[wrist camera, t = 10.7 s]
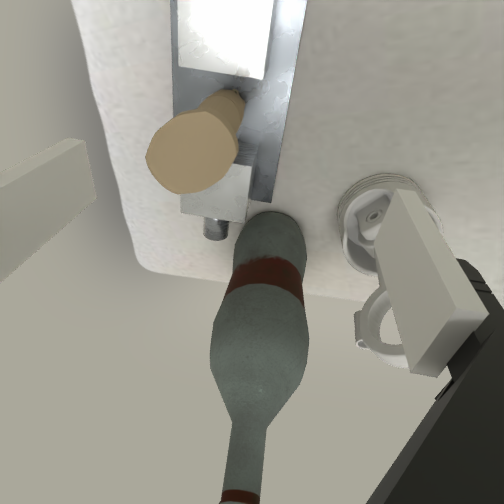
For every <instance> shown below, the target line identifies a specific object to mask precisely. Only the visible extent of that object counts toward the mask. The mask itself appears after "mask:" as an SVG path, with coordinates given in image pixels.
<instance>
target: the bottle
mask: <svg viewBox="0 0 504 504" xmlns="http://www.w3.org/2000/svg"><path fill="white" fill-rule="evenodd" d="M306 260H307V253H306V246H305V241H304V237H303V235H302V233H301V231H300V229H299V227H298V225H297V224H296V223H295V222H294V221H293V220H292V219H291V218H290V217H288V216H286V215H284V214H282V213H276V212H266V213H261V214H259V215H257V216H255V217H253V218H252V219H251V220H250V221H249V222H248V223H247V224H246V225H245V226H244V228H243V230H242V231H241V233H240V235H239V237H238V239H237V241H236V243H235V249H234V259H233V274H232V277H231V280H230V282H229V285H228V288H227V290H226V293H225V296H224V299H223V301H222V304H221V306H220V309H219V311H218V313H217V315H216V318H215V320H214V323H213V331H212V338H211V347H210V368H211V371H212V373H213V376H214V378H215V381H216V383H217V386H218V388H219V391H220V393H221V396H222V398H223V401H224V403H225V405H226V408H227V410H228V413H229V415H230V417H231V420H232V429H231V436H230V443H229V450H228V456H227V464H226V470H225V477H224V483H223V490H222V497H221V501H220V503H219V504H259V503H260V492H261V482H262V471H263V460H264V450H265V438H266V429H267V427H268V426H269V424H270V423H271V422H272V420H273V419H274V417H275V416H276V415H277V414H278V412H279V411H280V410H281V408H282V407H283V406H284V405H285V403H286V402H287V401H288V399H289V398H290V397H291V395H292V394H293V393H294V391H295V390H296V389H297V387H298V386H299V385H300V382H301V379H302V377H303V374H304V371H305V367H306V364H307V355H308V347H309V333H308V326H307V320H306V314H305V307H304V298H303V289H302V282H303V277H304V272H305V267H306Z"/></svg>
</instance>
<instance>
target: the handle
mask: <svg viewBox="0 0 504 504" xmlns="http://www.w3.org/2000/svg"><path fill="white" fill-rule="evenodd" d="M244 108H245V101H244V100H243V99H242V98H241V97H240V95H239V91H238V90H236V89H233V90H224V89H221V90H219V91H217V92H215V93H213V94H211V95H210V96H208V97H207V98H206V99H205V100H204V101H203V102H202V103H201V104H200V105H199V107H198V108H197V109H194V110H189V111H184V112H181V113H179V114H178V115H176V116H175V117H174V118H173V119H171V120H170V121H169V122H167V123H166V124H165V125H164V126H162V127H161V128H160V129H159V130H158V131H157V132H156V133H155V135H154V136H153V138H152V140H151V143H150V145H149V148H148V150H147V153H146V156H145V158H146V162H147V165H148V168H149V170H150V171H151V173H152V175H153V176H154V177H155V179H156V180H157V181H158V182H159V183H160V184H161V185H162V186H163V187H165V188H166V189H167V190H169V191H171V192H173V193H175V194H187V193H196V192H200V191H203V190H205V189H207V188H209V187H210V186H212V185H213V184H215V183H217V182H218V181H219V180H221V179H222V178H223V177H224V176H225V174H226V173H227V172H228V170H229V168H230V167H231V165H232V163H233V161H234V159H235V158H236V156H237V154H238V151H239V149H238V140H237V137H236V133H237V131H238V129H239V127H240V125H241V123H242V120H243V116H244Z"/></svg>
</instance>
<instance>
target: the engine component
mask: <svg viewBox="0 0 504 504" xmlns="http://www.w3.org/2000/svg"><path fill="white" fill-rule="evenodd" d="M396 188H397V189H403V190H410V191H415V192H416V193H417V195H418V197H419V198H420V200H421V202H422V203H423V205H424V207H425V208H426V210H427V212H428V213H429V215H430V217H431V218H432V220H433V222H434V223H435V225H436V227H437V228H438V230H439V231H440V233H441V235H442V236H443V226H442V223H441V220H440V219H439V217H438V216H437V214H436V212H435V211H434V209H433V208H432V206H431V205H430V203H429V202H428V200H427V199H426V197H425V196H424V194H423V193H422V191H421V190H420V188H419V187H418V186H417V185H416V184H415V183H414V182H413V181H411V180H410V179H408V178H406V177H404V176H401V175H397V174H378V175H374V176H370V177H368V178H365V179H363V180H361V181H360V182H358V183H356V184H355V185H354V186H353V187H351V188H350V189H349V190H348V191H347V192H346V194H345V195H344V196H343V198H342V200H341V202H340V204H339V207H338V213H337V217H338V224H339V230H340V236H341V241H342V246H343V252H344V255H345V258H346V259H347V261H348V263H349V264H350V265H351V266H352V267H353V268H355V269H356V270H357V271H359V272H361V273H363V274H366V275H368V276H373V277H378V279H379V285H380V287H379V288H378V289H377V290H376V291H375V292H374V293H373V294H372V295H371V296H370V297H369V298H368V300H367V301H366V303H365V304H364V306H363V308H362V310H361V311H357V312H355V314H354V322H355V339H356V346H357V347H358V348H361V349H370V350H371V351H372V352H373V353H374V354H375V355H376V356H377V357H379V358H380V359H381V360H382V361H384V362H385V363H387V364H390V365H392V366H396V367H401V368H409V366H408V362H407V359H406V355H405V352H404V348H403V345H402V344H399V345H391V344H386V343H383V342H382V341H381V338H380V334H379V333H380V331H379V330H380V324H381V321H382V319H383V317H384V315H385V314H386V313H387V311H388V310H389V309H390V308H391V307H392V306H391V303H390V299H389V296H388V292H387V289H386V285H385V282H384V278H383V275H382V271H381V268H380V264H379V261H378V257H377V254H376V250H375V247H374V241H375V239H376V236H377V234H378V231H379V229H380V226H381V224H382V222H383V219H384V217H385V214H386V212H387V209H388V207H389V205H390V202H391V200H392V197H393V195H394V192H395V190H396Z"/></svg>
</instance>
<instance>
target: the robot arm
mask: <svg viewBox="0 0 504 504" xmlns="http://www.w3.org/2000/svg"><path fill="white" fill-rule="evenodd" d="M96 199H97V196H96V191H95V186H94V182H93V176H92V172H91V167H90V163H89V158H88V153H87V149H86V144H85V141H84V140H79V139H72V138H66V139H64V140H62V141H60V142H58V143H57V144H55V145H53V146H51V147H49V148H47V149H45V150H43V151H41V152H39V153H37V154H35V155H33V156H31V157H29V158H27V159H25V160H23V161H22V162H20V163H18V164H16V165H14V166H12V167H10V168H8V169H6V170H4V171H2V172H0V283H1V282H2V281H3V280H4V279H5V278H7V277H8V276H9V275H10V274H11V273H12V272H13V271H15V270H16V269H17V268H18V267H19V266H20V265H21V264H23V263H24V262H25V261H26V260H27V259H28V258H29V257H31V256H32V255H33V254H34V253H35V252H36V251H37V250H39V249H40V248H41V247H42V246H43V245H44V244H45V243H46V242H48V241H49V240H50V239H51V238H52V237H53V236H54V235H55V234H57V233H58V232H59V231H60V230H61V229H63V228H64V227H65V226H66V225H67V224H68V223H69V222H70V221H72V220H73V219H74V218H75V217H76V216H77V215H78V214H80V213H81V212H82V211H83V210H84V209H85V208H87V207H88V206H89V205H90V204H91V203H92V202H93V201H95V200H96ZM374 247H375V250H376V254H377V257H378V261H379V264H380V268H381V271H382V275H383V278H384V282H385V285H386V289H387V292H388V296H389V299H390V303H391V306H392V310H393V313H394V317H395V320H396V324H397V327H398V331H399V334H400V338H401V341H402V345H403V348H404V352H405V355H406V359H407V362H408V366H409V369H410V372H411V373H415V374H420V375H426V376H431V377H436V378H437V377H438V376H439V375H440V373H441V372H442V371H443V370H444V368H445V367H446V366H448V369H449V371H450V374H451V376H452V379H451V380H450V381H449V383H448V384H447V385H446V386H445V387H444V388H443V389H442V391H441V392H440V393H439V394H438V395H437V396H436V397H435V399H436V401H435V402H434V404H433V406H432V407H431V408H430V410H429V412H428V413H427V414H426V416H425V417H424V419H423V420H422V422H421V423H420V425H419V426H418V428H417V429H416V431H415V432H414V433H413V435H412V436H411V438H410V439H409V441H408V442H407V444H406V445H405V447H404V448H403V450H402V451H401V453H400V454H399V456H398V457H397V459H396V460H395V461H394V463H393V464H392V466H391V468H390V469H389V470H388V472H387V474H386V475H385V476H384V478H383V479H382V481H381V482H380V484H379V485H378V487H377V488H376V489H375V491H374V492H373V494H372V496H371V497H370V498H369V500H368V501H367V503H366V504H504V309H503V308H502V306H501V305H500V303H499V302H498V300H497V299H496V297H495V296H494V294H491V293H492V291H491V290H490V288H489V287H488V285H487V284H485V283H486V282H485V281H484V279H483V278H482V276H481V274H480V273H479V271H478V270H477V269H475V268H474V267H473V266H472V265H471V264H469V263H468V262H467V261H466V260H463V259H457V258H455V256H454V255H453V253H452V251H451V250H450V248H449V246H448V245H447V243H446V241H445V240H444V238H443V236H442V235H441V233H440V231H439V230H438V228H437V227H436V225H435V223H434V222H433V220H432V218H431V217H430V215H429V213H428V212H427V210H426V208H425V207H424V205H423V203H422V202H421V200H420V198H419V197H418V195H417V193H416V192H415V191H410V190H403V189H397V188H396V190H395V192H394V195H393V197H392V200H391V202H390V205H389V207H388V209H387V212H386V214H385V217H384V219H383V222H382V224H381V226H380V229H379V231H378V234H377V236H376V239H375V241H374Z"/></svg>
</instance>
